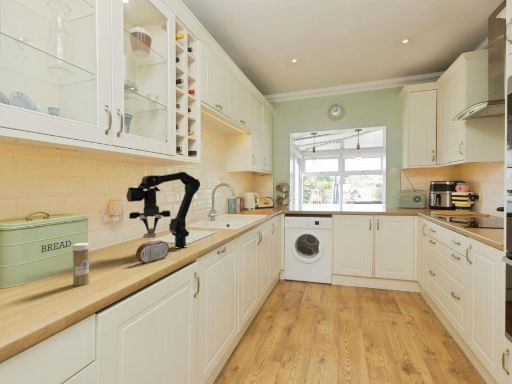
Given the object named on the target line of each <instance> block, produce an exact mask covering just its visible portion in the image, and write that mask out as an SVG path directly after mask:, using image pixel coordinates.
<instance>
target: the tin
mask: <svg viewBox="0 0 512 384" xmlns="http://www.w3.org/2000/svg"><path fill="white" fill-rule="evenodd" d="M169 251H170V247H169V244H168V243H167V241H163V240H154V241H149V242H144V243H142V244H141V245H139V246H138V247H137V249H136V251H135V258H136V260H137V261H138V262H139V263H142V264H147V263H152V261H153V262H156V261H155V260H157V261H159V259H161V260H163V259H165V258H166V257H167V256H168V254H169ZM162 258H163V259H162Z"/></svg>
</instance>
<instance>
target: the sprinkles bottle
mask: <svg viewBox="0 0 512 384" xmlns="http://www.w3.org/2000/svg"><path fill="white" fill-rule="evenodd" d="M89 249H90V244H89V243H88V242H80V243H79V242H78V243H74V244H72V275H73V277H72V279H73V282H72V285H73V286H75V287H79V286H84V285H87V284H88V283H90V280H89V279H90V275H89V274H90V263H89V261H90V260H89V259H90V258H89Z"/></svg>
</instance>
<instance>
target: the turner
mask: <svg viewBox="0 0 512 384" xmlns="http://www.w3.org/2000/svg"><path fill="white" fill-rule="evenodd" d="M155 231H156V230H155ZM155 231H154V227H150V228H149V230H148V231H147V233H144V234H143V236H142V238H143V239H150V238H152V239H153V238H156V236H157V233H156V232H155Z"/></svg>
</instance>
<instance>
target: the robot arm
mask: <svg viewBox="0 0 512 384" xmlns="http://www.w3.org/2000/svg"><path fill="white" fill-rule="evenodd" d="M178 180H180V182H181V183H182V184H183V185H184V195H183V198H182V200H181V204H180V206H179V209H178V212H177V214H176V216H175V217H174V218H171V219H170V223H169V224H168V226H169V228H168V229H169V231H170V233H171V235H172V236H174V245H175V247H184V246H186V245H187V239H186V238H187V237H189V235H190V232H189V231H188V230H187V228H186V226H187V225H186V224H187V222H186V218H187V216H188V212H189V209H190V206H191V204H192V201H193V198H194V195H195V194H196V193H197V192H198V191H199V189H200V187H201V182H200V180H199V179H197V178H195V177H194V176H192V175H190V174H188V172H186V171H179V172H174V173H170V174H169V173H168V174H162V175H159V174H158V175H153V174H152V175H144V176H143V177H142V179H141V182H140V183H139V184H138V186H137V187H132V186H131V187H128V189H127V191H126V195H125V196H126V200H127V202H129V203H130V202H142V201H143V205H144V206H143V212H140V211H131V212H130V213H129V216H128V218H129V219H131V220H132V219H133V220H135V219H136V220H137V218H139V220H140V221H142V223H143V224H144V225H145V226H144V227H145V228H146V231H147V232H148V230H149V219H148V217H154V221H153V228H154V231H156V228H157V224H158V222H159V220H160V219H162V217H164V218H166V217H167V218H168V217H169V218H170V217H171V211H170V210H169V209H167V210H161V211H160V206H159V205H157V204H158V203H157V192H161V189H160V188H158V186H159V185H161V184H164V183H167V182H172V181H178Z"/></svg>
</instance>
